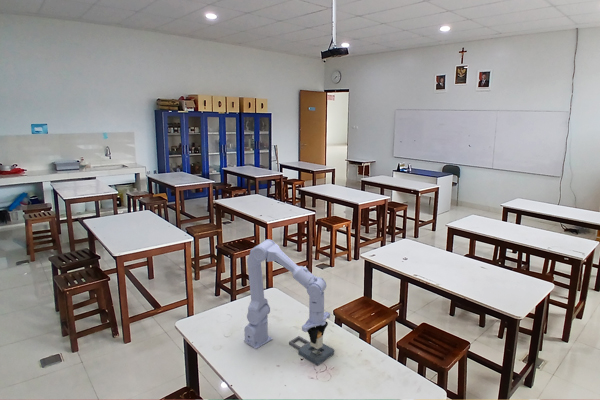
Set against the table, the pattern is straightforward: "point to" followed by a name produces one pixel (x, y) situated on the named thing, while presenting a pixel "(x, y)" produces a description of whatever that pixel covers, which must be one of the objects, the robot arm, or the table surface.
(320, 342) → the plug
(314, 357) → the port block
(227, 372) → the table surface
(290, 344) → the grey mounting plate
